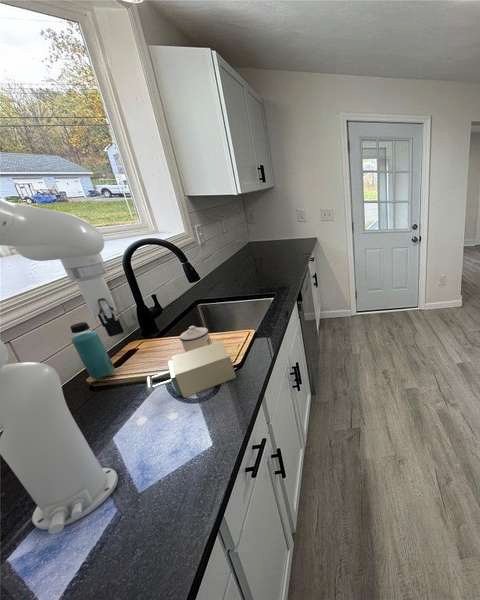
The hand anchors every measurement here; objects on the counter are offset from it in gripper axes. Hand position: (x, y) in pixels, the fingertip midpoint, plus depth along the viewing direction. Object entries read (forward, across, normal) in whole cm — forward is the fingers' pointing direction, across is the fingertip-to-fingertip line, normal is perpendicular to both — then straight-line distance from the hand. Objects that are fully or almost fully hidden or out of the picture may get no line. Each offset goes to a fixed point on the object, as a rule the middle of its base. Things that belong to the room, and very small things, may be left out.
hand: (113, 329), depth 88 cm
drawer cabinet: (+22, +8, +16) cm, 28 cm away
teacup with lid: (+22, -12, +20) cm, 32 cm away
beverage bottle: (+22, -22, -6) cm, 32 cm away
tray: (+21, +7, +11) cm, 25 cm away
